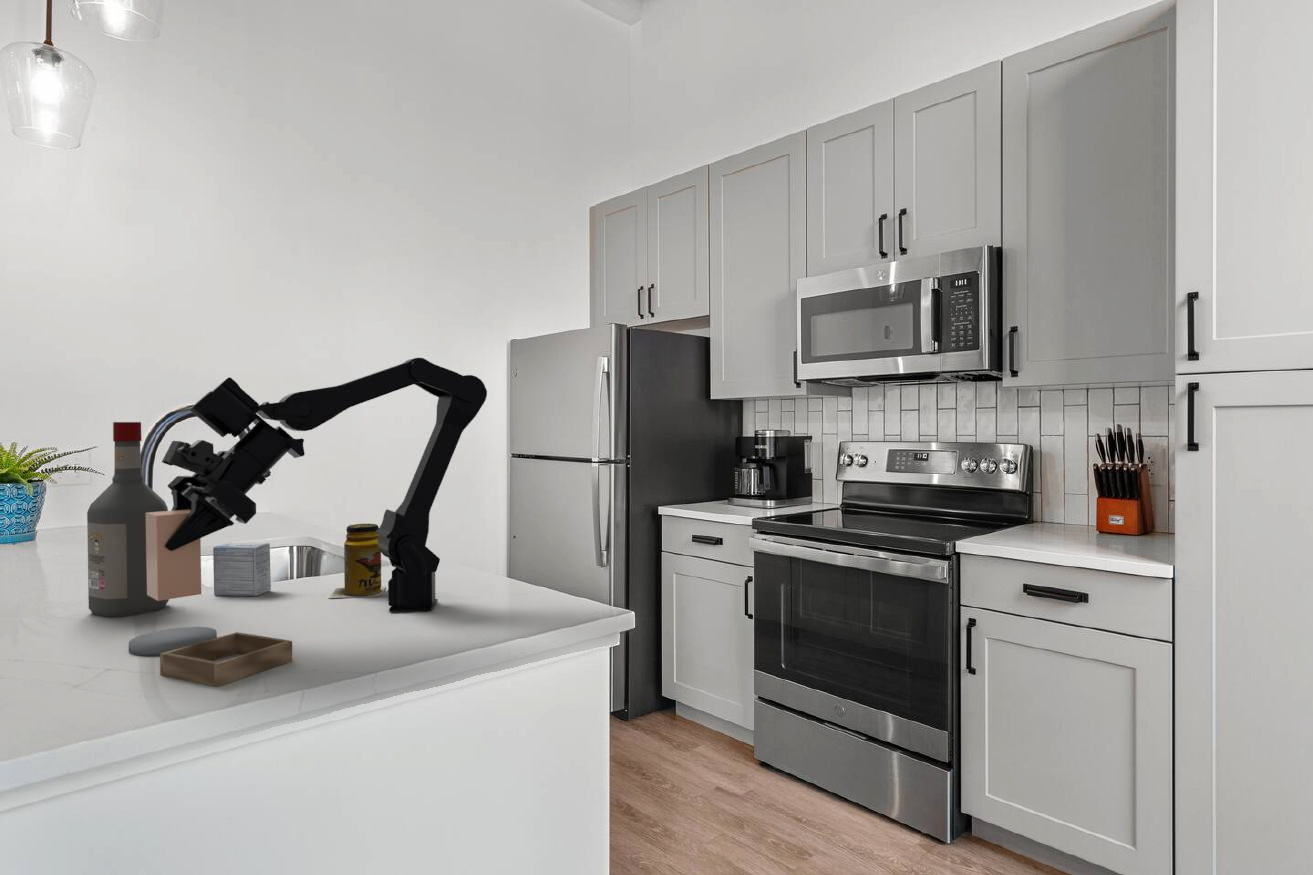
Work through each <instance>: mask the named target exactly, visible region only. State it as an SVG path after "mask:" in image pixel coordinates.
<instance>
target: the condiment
mask: <svg viewBox="0 0 1313 875" xmlns="http://www.w3.org/2000/svg"><path fill="white" fill-rule="evenodd" d="M379 527H380V526H378V524H376V523H357V524H349V525H348V526H347V527H346V529H345V530H346V535H345V537H346V539H345V542H344V543H343V544H344V546H343V551H344V552H343V555H344V558H343V561H344V562H343V564H344V567H343V568H344V572H343V573H344V574H343V575H344V586H343V587H337V588H335V589H334V591H333V592H332V594H330V595H329V597H328V599H339V598H341V599H342V598H345V599H346V598H371V597H372V598H373V597H380V596H381V597H382V594H383V593H384V591H385V589H386V585H385V586H382V553H381V552H380V550H379V547H378V545H377V540H378V536H379V534H377V533H376V531H377V530H378V529H379Z"/></svg>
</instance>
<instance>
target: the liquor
mask: <svg viewBox="0 0 1313 875" xmlns="http://www.w3.org/2000/svg"><path fill="white" fill-rule="evenodd" d="M112 441H113V442H114V471H113V472H114V474H113V476H112V479H111V480H112V482H111V483H110V485H109V486H108V487H106V489H105V490H103V491H102V493H100V495H98V496H97V497H96V499H95V500H94V501H93V502H91V503H90V505H89V507H88V510H87V513H86V516H87V518H86V524H87V525H86V526H87V570H88V571H87V577H88V578H87V581H88V584H87V586H88V587H87V589H88V590H87V591H88V593H87V594H88V598H87V599H88V610H89V611H90V612H91V613H92V614H93V615H97V616H101V617H106V618H118V617H120V618H121V617H131V616H135V615H140V614H144V613H149V612H150V613H151V612H154V611H158V610H162V609H163V608H165V607H166V606H167V603H168V602H169V600H170V599H167V600H160V601H157V600H155V599H154V598H152V597H150V596H148V595H147V564H146V513H149V512H161V511H169V509H168V506H167V503H166V501H165V500H164V499H163V498H162V497H161V496H159V495H158V494H157V493H156V492H155V491H154V490H153V489H152V488H151V487H150V486H148V484H146V483H145V482H144V476H143V475H142V461H141V460H142V457H141V442H142V422H141V421H112Z"/></svg>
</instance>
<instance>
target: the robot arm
mask: <svg viewBox="0 0 1313 875" xmlns="http://www.w3.org/2000/svg"><path fill="white" fill-rule="evenodd" d="M413 385H415V386H417V387H419V388H421V389H422V390H424V391H425V392H427V393H428V394H430V395H432V396H435V397H437V398H438V399H437V404H436V421H435V425H434V427H433V429H432V432H431V433H430V434H431V435H430V437H429V439H428V441H427V443H426V447H425V449H424V450H423V454H422V456H421V458H420V460H419V463H418V466H417V468H416V470H415V473H414V474H413V477H412V480H411V482H410V484H409V487H408V490H407V491H406V495H405V496H404V499H403V501H402V502H401V504H400V505H399V506H398V507H397V509H396V510H395V511H393V510H390V509H385V511H384V514H383V517H382V522H381V524H380V525H379V526H378V527H379V529H378V530H377V531H376V533H377V534H379V536H378V540H377V545H378V547H379V550H380V552H381V555H383V556H384V557H385V558H388V559H389V562H390V566H392V567H393V568H394V569H392V570H391V578H390V579H389V580H388V581H387V582H388V583H387V586H388V587H387V588H388V596H387V597H388V601H387V602H388V603H387V604H388V606H389V608H388V612H390V613H395V612H399V613H401V612H428V611H429V612H430V611H432V610H433V609H434V607H435V606H436V605H437V603H438V601H439V599H438V598H436V572H437V570H438V567H439V564H440V562H441V561H440V560H441V558H440V557H439V556H437V554H435V553H434V552H433V551H432V550H431V549H430V548H428V546H426V545H427V541H428V538H429V537H428V536H429V533H430V532H429V531H430V512H431V509H432V507H433V504H434V502H435V500H436V497H437V495H438V492H439V489H440V487H441V485H442V483H443V480H444V477H445V475H446V472H447V471H448V468H449V465H450V463H451V460H452V458H453V456H454V454H455V451H456V448H457V445H458V443H459V441H460V438H461V437H462V433H463V432H464V430H465V429H466V428H467V427H468V426H469V424H470V423H471V422H472V421H473V420H474V419H475V418H476V417H477V415H478V413H479V412H480V410H481V408H482V406H484V403H485V402H486V400H487V396H488V390H487V388H486V385H485V383H484V382H483V380H482V379H481V378H479V377H478V376H476V375H472V374H465V375H463V374H460V373H458V372H456V371H453V370H451V369H448V368H445V367H442V366H440V365H437V364H435V363H433V362H431V361H429V360H428V359H425V358H424V357H414V358H410V359H407V360H405V361H404V362H402V363H399V364H398V365H394V366H391V367H389V368H385V369H383V370H380V371H377V372H373V373H371V374H368V375H365V376H362V377H359V378H356V379H354V380H351V381H348V382H344V383H341V384H338V385H336V386H334V385H333V386H328V387H322V388H315V389H311V390H304V391H298V392H293V393H288V394H287V395H285V396H283V397H282V398H280V400H279V402H272V403H270V402H269V401H263V402H262V403H261V404H259V402H258V401H256V400H255V399H254V398H253V397H252V396H250V395H249V394H248V393H247V392H246V391H245V390H243V389H242V388H241V386H240V385H239V383H237V382H236V380H234V379H233V378H232V377H227V378H226V379H225V380H223V381H222V382H220V384H219V385H217V386H216V387H215V388H214V389H212V390H211V391H208V392H207V393H205V395H203V396H202V397H201V398H200V399H199V400H198V401H197V402H195V403H194V404H193V405H192V406H191V407H190V408H189V412H190V413H191V414H193V415H195V416H196V417H197V418H198V419H199V420H201V421H202V422H203V423H204V424H206V425H207V426H208V427H209V428H210V429H212V430H213V431H214V432H215V433H217V434H218V435H219V436H220V437H222V438H224V437H225V436H227V435H231V436H232V437H233V438H236V437H237V436H239V435H240V434H242V433H243V432H244V431H245V430H246V429H247V428H248V427H249V426H250V425H251V424H254V426H253V427H252V428H251V429H250V430H248V432H246V434H244V435H243V436H242V437H241V438H240V439H238V441H237V442H236V443H235V444H234V445H233V446H232V447H230V449H228V450H220V451H218V452H217V453H215V452H214V443H212V442H208V441H206V440H203V439H198V440H195V441H194V443H192V444H190V443H189V442H185V441H180V440H172V442H171V443H170V445H169V447H168V449H167V451H166V452H165V454H164V456H163V459H162V460H161V463H163V464H165V465H167V466H175V467H178V468H180V469H183V470H185V471H189V472H192V473H193V474H192V475H177V476H176V477H175V478H174V479H172V481H171V482H169V483H168V484H167V487H168V489H170V490H171V496H172V502H173V505H172V508H171V509H170V511H174V510H187V509H189V510H191V511H190V513H189V514H188V515H187V516H186V518H185V519H184V520H183V522H182V523H181V524H180V525H179V527H178V528H177V529H176V531H175V532H174V533H173V534H172V536H171V537H170V538H169V540H168V541H167V543H166V544H165V547H166V548H167V549H168V550H170V551H173V550H175V549H178V548H180V547H182V546H184V545H186V544H189V543H191V542H193V541H195V540H197V539H202V538H204V537H207V536H208V535H210V534H213V533H215V532H218V531H221V530H222V529H225V528H227V527H232V526H233V525H235V522H234V521H233V520H231V519H232V518H233V517H235V516H236V517H235V521H237V523H240V524H243V525H244V524H245V525H246V524H248V522H249V521H250V520H252V518H253V517H254V516H255V515H256V514H257V503H256V502H255V501H254V500H252V499H251V498H250V497H249V496H247V493H248V492H249V491H251V489H252V488H253V487H254V486H255V485H262V484H263V483H264V482H265V481H266V480H267V478H266V477H265V475H266V474H267V473H268V472H270V470H271V469H272V468H274V466H275V465H276V464H277V463H278V462H279V461H280V460H281V459H282V458H283V457H284V456H285V455H286V454H287V453H288V454H289V455H291V456H292V458H294V459H298V458H301V457H304V456H305V449H304V442H305V439H304V438H294V437H293V436H292V435H290V434H289V433H288V432H287V431H286V430H285V429H283V428H282V427H281V426H280V425H279V426H276V427H273V426H272V425H270V423H268V422H267V421H266V420H271V421H277V422H279V423H280V424H281V425H282V426H283V427H284V428H286V429H288V430H290V431H294V432H296V431H297V432H307V431H308V432H309V431H312V430H314V429H316V428H318V427H319V426H321V425H323V424H325V423H326V422H328V421H330V420H332V419H334V418H335V417H336V416H338V415H340V414H341V413H343V412H344V411H347V410H348V409H350V408H352V407H354V406H357V405H360V404H362V403H365V402H368V401H371V400H374V399H377V398H379V397H382V396H384V395H389V394H391V393H394V392H396V391H399V390H402V389H404V388H407V387H409V386H410V387H411V386H413Z"/></svg>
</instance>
